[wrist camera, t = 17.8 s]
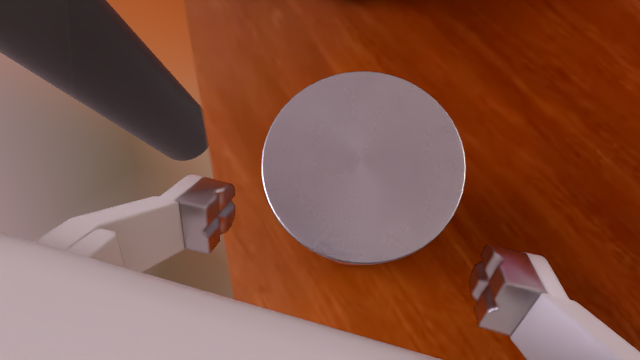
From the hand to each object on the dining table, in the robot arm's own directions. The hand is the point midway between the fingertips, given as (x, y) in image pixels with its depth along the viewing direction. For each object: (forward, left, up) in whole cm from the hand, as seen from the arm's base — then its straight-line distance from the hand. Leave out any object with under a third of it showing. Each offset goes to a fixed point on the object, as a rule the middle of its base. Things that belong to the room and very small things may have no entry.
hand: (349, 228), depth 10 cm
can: (+1, +1, -10) cm, 10 cm away
